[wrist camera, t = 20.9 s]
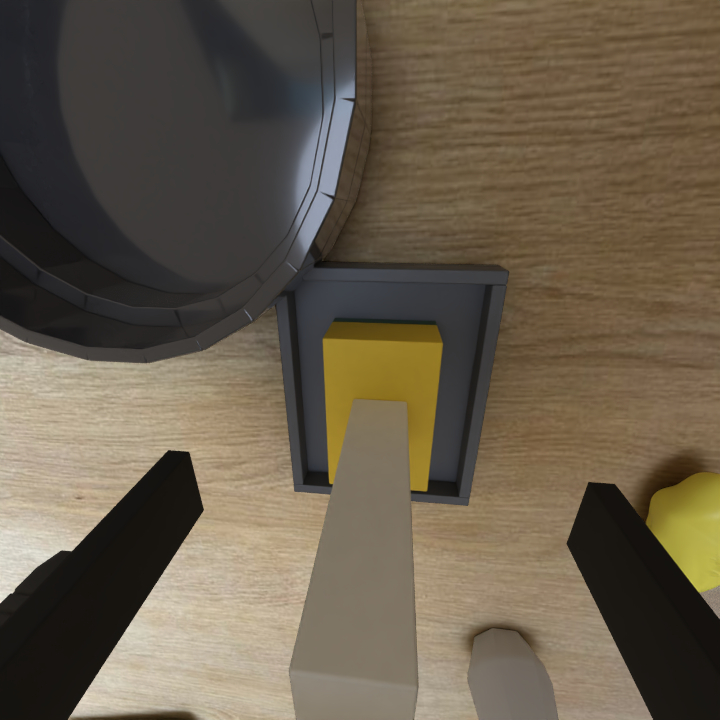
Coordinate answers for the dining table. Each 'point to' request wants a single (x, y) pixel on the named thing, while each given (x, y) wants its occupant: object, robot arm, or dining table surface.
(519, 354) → the dining table surface
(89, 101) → the bowl
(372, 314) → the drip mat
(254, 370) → the dining table surface
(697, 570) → the yellow potato
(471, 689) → the salt shaker
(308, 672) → the sponge brush
